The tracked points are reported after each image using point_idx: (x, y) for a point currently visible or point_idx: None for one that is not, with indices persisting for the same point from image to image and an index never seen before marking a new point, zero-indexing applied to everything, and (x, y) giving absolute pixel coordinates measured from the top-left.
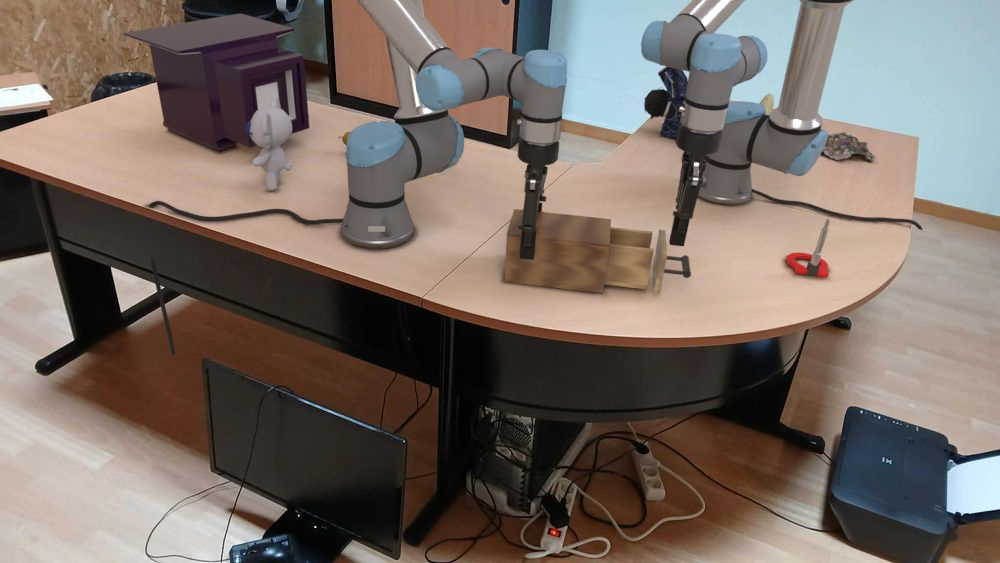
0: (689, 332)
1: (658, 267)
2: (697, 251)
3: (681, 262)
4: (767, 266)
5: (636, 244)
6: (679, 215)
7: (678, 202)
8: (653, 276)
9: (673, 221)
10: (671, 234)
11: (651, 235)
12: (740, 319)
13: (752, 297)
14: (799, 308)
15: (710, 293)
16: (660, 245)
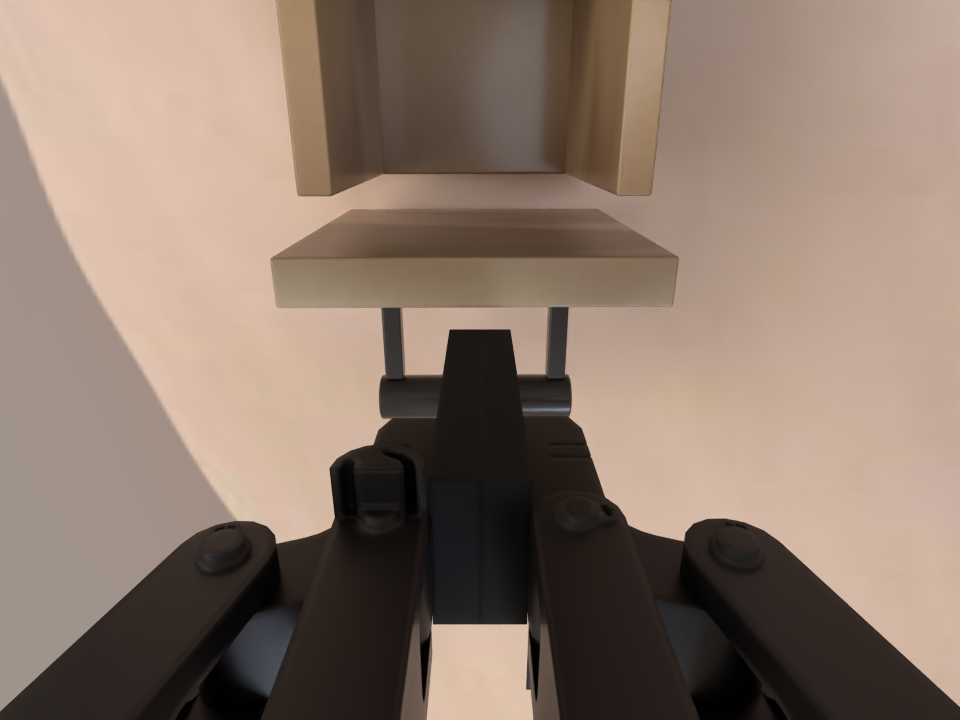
0: (149, 357)
1: (310, 235)
2: (852, 433)
3: (525, 374)
4: None
5: (599, 72)
6: (173, 560)
7: (541, 591)
8: (481, 212)
9: (509, 411)
10: (462, 361)
11: (611, 187)
12: None
13: None
14: (462, 710)
15: None
16: (393, 257)
